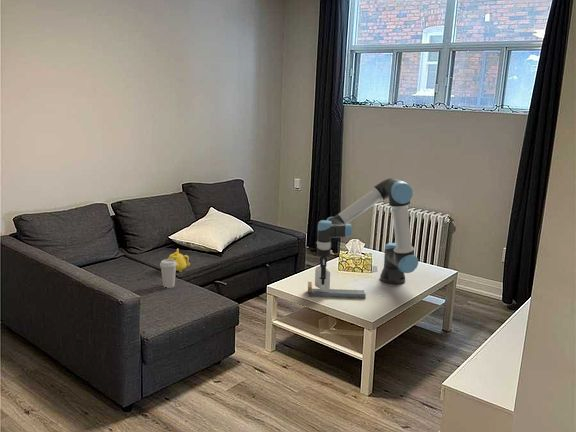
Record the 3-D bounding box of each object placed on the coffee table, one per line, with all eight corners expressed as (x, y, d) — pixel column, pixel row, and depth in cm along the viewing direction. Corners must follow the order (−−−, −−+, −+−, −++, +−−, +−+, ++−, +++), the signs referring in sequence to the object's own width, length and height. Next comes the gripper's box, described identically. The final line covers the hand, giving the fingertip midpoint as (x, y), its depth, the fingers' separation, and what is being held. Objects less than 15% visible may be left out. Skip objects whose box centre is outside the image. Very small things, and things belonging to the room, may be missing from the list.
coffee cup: (180, 284, 321) (180, 260, 317) (170, 290, 312) (170, 264, 309) (167, 282, 325) (166, 257, 321) (156, 287, 316) (156, 262, 313)
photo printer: (313, 285, 315) (314, 265, 312) (319, 284, 317) (320, 264, 314) (324, 291, 307) (325, 270, 304) (330, 290, 309) (331, 269, 306)
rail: (363, 292, 316) (364, 283, 315) (365, 298, 307) (365, 289, 306) (307, 290, 317) (308, 281, 315) (307, 296, 308) (308, 287, 307)
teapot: (188, 275, 337) (188, 257, 334) (164, 275, 335) (163, 257, 333) (191, 264, 356) (190, 247, 354) (167, 265, 355) (167, 247, 352)
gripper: (316, 242, 317) (315, 279, 323) (317, 254, 296) (315, 293, 301) (329, 242, 317) (328, 279, 322) (331, 254, 296) (329, 293, 301)
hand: (322, 286), depth 312 cm, fingers closed on photo printer, 9 cm apart
